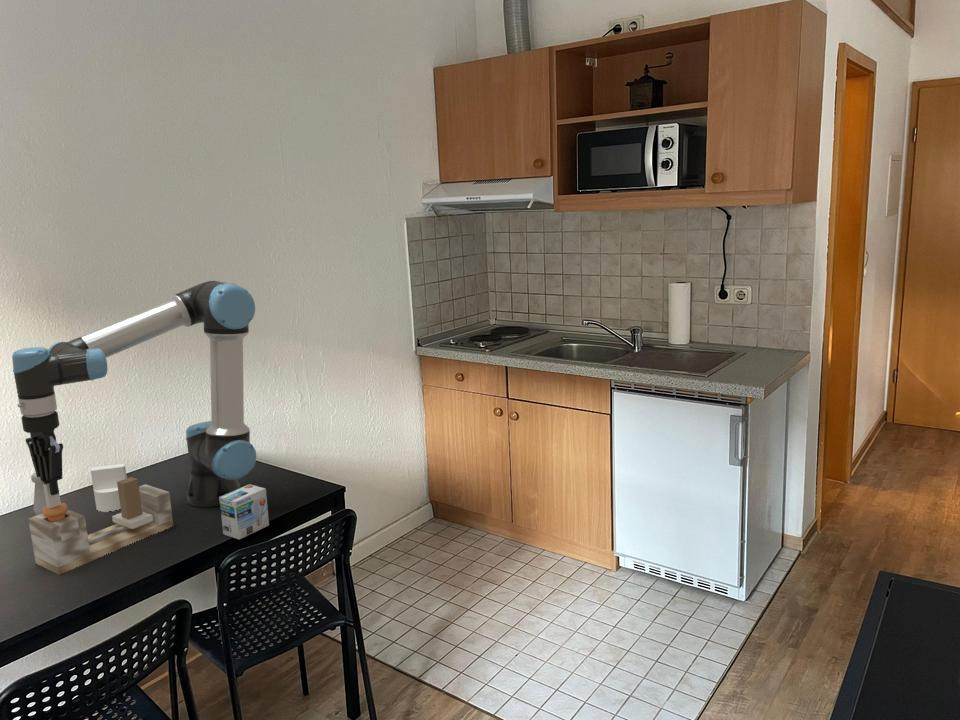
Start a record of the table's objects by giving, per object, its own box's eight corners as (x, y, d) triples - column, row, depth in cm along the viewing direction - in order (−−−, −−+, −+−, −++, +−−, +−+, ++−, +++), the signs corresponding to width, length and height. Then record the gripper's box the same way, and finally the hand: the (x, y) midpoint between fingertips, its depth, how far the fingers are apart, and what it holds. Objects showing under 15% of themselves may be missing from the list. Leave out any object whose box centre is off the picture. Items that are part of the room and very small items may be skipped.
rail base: (149, 517, 212) (144, 477, 209) (173, 526, 206) (168, 484, 203) (35, 563, 187) (28, 518, 184) (59, 574, 181) (51, 528, 178)
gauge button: (63, 521, 188) (59, 501, 187) (74, 525, 186) (70, 505, 184) (41, 529, 184) (38, 508, 183) (52, 534, 181) (49, 513, 180)
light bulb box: (239, 540, 196) (235, 501, 194) (222, 535, 200) (217, 497, 197) (270, 524, 205) (266, 487, 203) (253, 519, 208) (249, 483, 206)
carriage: (133, 513, 206) (128, 473, 204) (153, 520, 202) (147, 479, 199) (112, 521, 202) (106, 480, 199) (132, 529, 197) (126, 487, 194)
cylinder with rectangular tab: (132, 497, 227) (126, 460, 224) (128, 509, 218) (122, 470, 216) (99, 502, 224) (93, 464, 221) (94, 514, 216) (87, 474, 213)
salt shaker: (47, 520, 212) (40, 477, 209) (29, 519, 213) (22, 476, 210) (62, 512, 218) (55, 469, 215) (45, 510, 219) (38, 468, 216)
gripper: (9, 413, 179) (24, 506, 184) (37, 421, 172) (52, 517, 177) (41, 405, 185) (55, 495, 190) (69, 412, 178) (83, 506, 183)
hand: (54, 506), depth 184 cm, fingers closed
